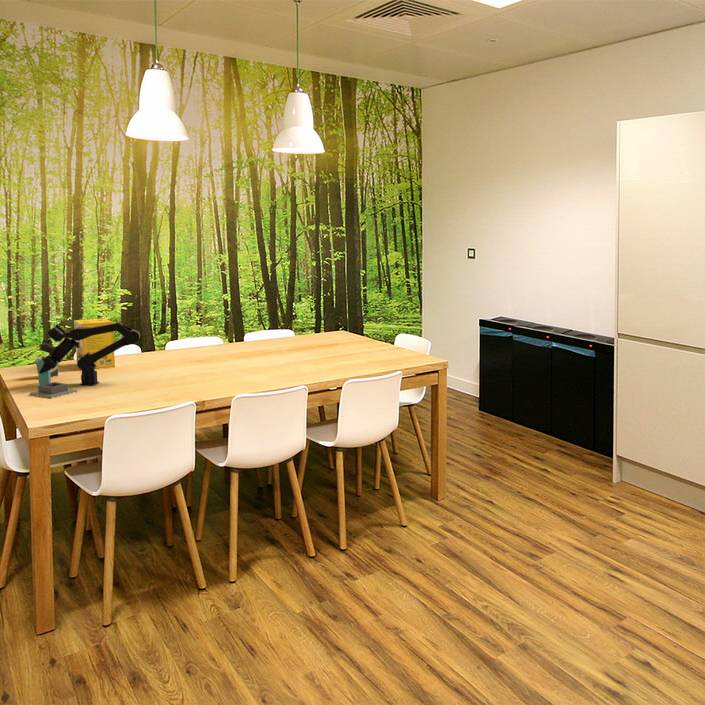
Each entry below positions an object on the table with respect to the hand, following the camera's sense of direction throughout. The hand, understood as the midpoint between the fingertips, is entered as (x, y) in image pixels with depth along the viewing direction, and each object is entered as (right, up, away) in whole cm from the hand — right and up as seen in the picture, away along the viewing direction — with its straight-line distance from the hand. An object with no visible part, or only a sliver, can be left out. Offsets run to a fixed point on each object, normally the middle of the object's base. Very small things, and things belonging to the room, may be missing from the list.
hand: (41, 372), depth 328 cm
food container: (-7, -3, +22) cm, 23 cm away
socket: (+11, -9, -13) cm, 20 cm away
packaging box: (+8, +1, +47) cm, 48 cm away
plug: (+1, -6, +2) cm, 7 cm away
